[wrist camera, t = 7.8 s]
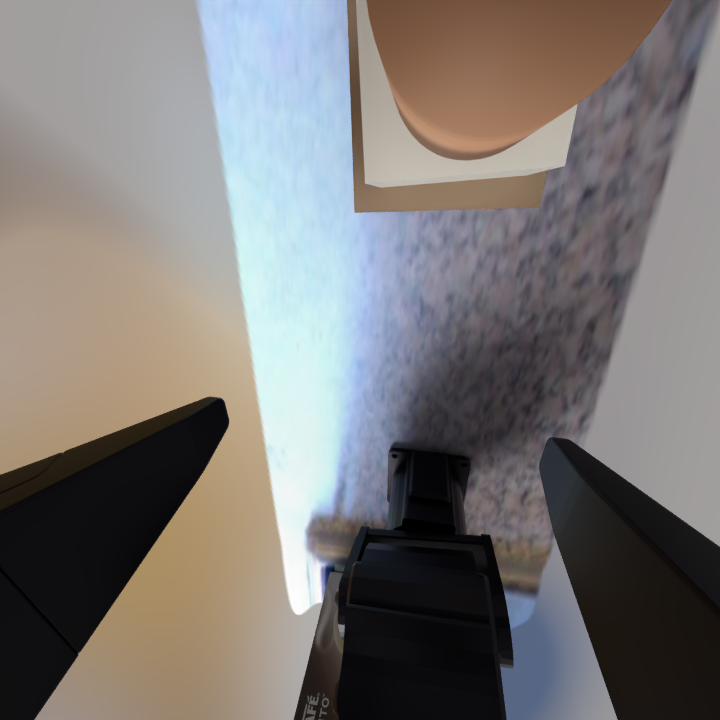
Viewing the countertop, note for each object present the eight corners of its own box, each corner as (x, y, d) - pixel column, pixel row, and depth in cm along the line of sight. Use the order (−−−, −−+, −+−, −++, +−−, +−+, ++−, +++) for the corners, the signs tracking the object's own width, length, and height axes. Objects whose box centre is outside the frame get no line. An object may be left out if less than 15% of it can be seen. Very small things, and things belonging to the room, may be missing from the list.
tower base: (515, 205, 16) (539, 207, 13) (369, 210, 18) (354, 212, 14) (555, -11, 13) (604, -91, 9) (366, 17, 14) (345, -42, 11)
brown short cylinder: (557, 156, 9) (641, 128, 5) (386, 164, 10) (364, 142, 6) (623, -120, 7) (843, -480, 3) (392, -78, 7) (362, -321, 4)
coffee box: (340, 598, 39) (291, 821, 25) (329, 569, 36) (268, 801, 22) (411, 608, 37) (401, 860, 23) (406, 578, 34) (391, 843, 20)
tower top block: (526, 175, 12) (564, 166, 9) (380, 187, 14) (365, 183, 10) (561, -44, 10) (636, -180, 6) (375, -4, 11) (351, -100, 7)
